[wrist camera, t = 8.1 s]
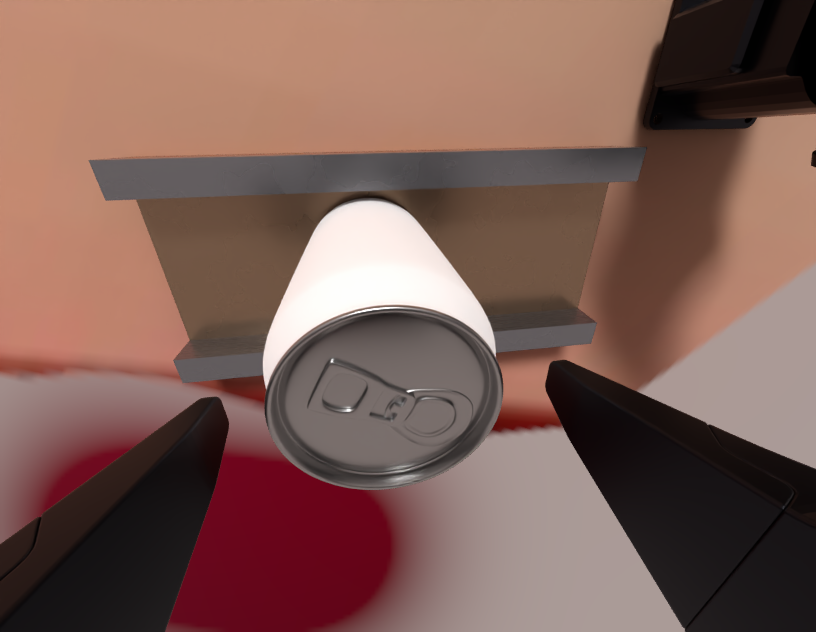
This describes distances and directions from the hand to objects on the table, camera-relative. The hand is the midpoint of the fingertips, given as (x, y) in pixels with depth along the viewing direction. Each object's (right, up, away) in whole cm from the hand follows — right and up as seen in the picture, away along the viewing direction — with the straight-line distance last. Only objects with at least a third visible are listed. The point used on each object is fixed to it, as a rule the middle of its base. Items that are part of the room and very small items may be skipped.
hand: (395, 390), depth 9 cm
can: (-2, +5, +9) cm, 11 cm away
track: (-1, +6, +10) cm, 12 cm away
